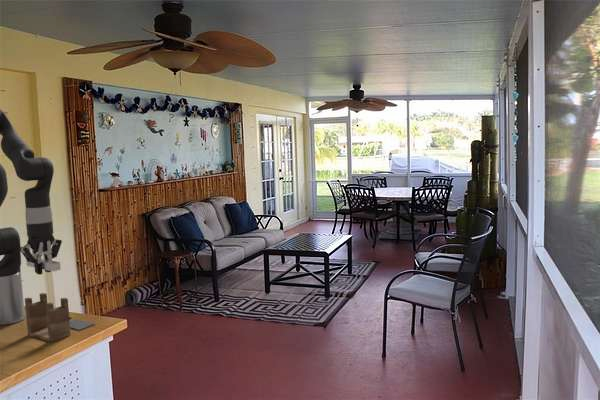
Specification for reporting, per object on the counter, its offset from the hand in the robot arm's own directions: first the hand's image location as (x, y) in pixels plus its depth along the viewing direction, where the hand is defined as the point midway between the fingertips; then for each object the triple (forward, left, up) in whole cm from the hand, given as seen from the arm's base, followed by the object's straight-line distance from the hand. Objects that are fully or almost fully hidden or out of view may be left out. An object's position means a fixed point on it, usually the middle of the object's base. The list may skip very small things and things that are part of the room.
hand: (43, 272), depth 163 cm
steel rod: (0, 0, +2) cm, 2 cm away
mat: (+1, +10, -21) cm, 23 cm away
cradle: (0, 0, -21) cm, 21 cm away
